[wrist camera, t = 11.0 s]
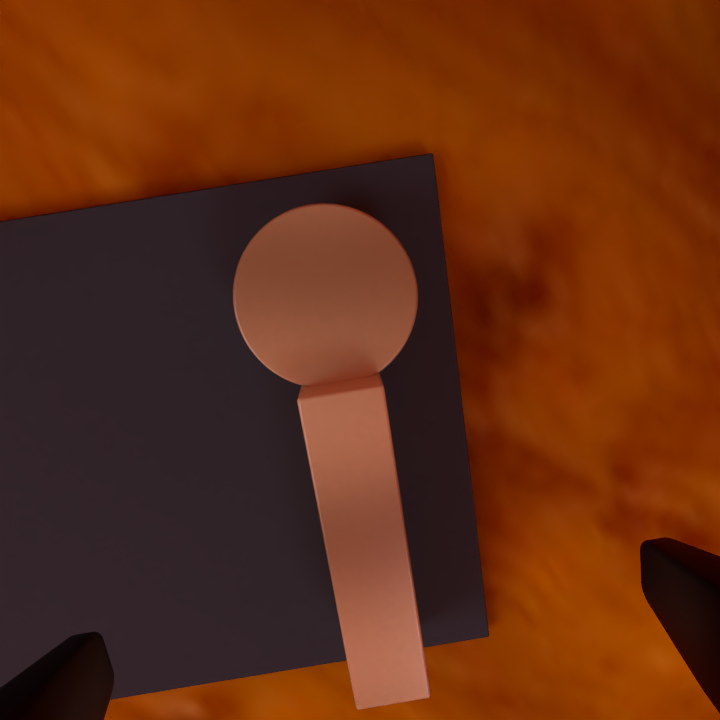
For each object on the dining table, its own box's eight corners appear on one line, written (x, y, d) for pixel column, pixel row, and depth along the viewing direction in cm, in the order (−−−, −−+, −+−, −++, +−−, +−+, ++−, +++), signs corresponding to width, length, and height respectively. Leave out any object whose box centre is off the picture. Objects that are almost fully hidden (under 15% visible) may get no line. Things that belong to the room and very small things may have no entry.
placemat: (-129, 730, 17) (-140, 741, 17) (-334, 276, 14) (-353, 277, 14) (486, 628, 17) (489, 637, 17) (430, 155, 14) (433, 152, 14)
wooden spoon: (453, 620, 17) (475, 691, 14) (316, 644, 17) (311, 718, 14) (397, 197, 14) (411, 182, 11) (229, 223, 14) (202, 215, 11)
